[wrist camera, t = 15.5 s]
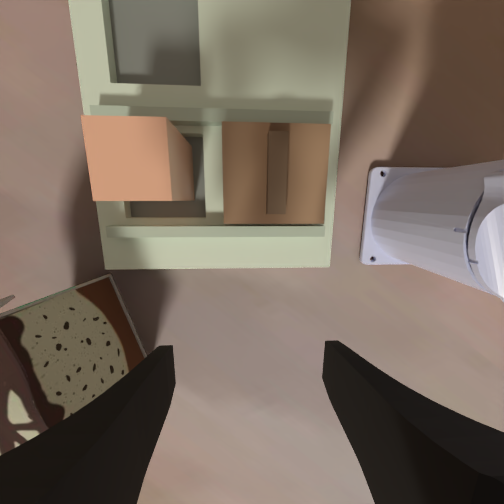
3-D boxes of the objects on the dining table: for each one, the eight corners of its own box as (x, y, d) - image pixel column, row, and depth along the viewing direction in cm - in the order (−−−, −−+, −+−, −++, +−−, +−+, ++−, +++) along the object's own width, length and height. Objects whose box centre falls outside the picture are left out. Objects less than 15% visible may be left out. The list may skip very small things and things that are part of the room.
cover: (320, 132, 17) (336, 119, 14) (314, 221, 18) (328, 224, 16) (223, 130, 17) (220, 117, 14) (225, 221, 18) (223, 224, 15)
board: (346, -34, 16) (363, -70, 14) (324, 263, 21) (334, 270, 18) (72, -51, 15) (44, -93, 13) (113, 265, 20) (97, 273, 17)
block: (191, 146, 18) (165, 116, 11) (194, 200, 19) (172, 200, 12) (137, 145, 18) (80, 115, 11) (143, 200, 18) (93, 200, 12)
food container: (32, 276, 19) (-176, 354, 10) (103, 256, 19) (-34, 314, 10) (94, 395, 22) (-19, 548, 12) (156, 377, 22) (92, 517, 12)
